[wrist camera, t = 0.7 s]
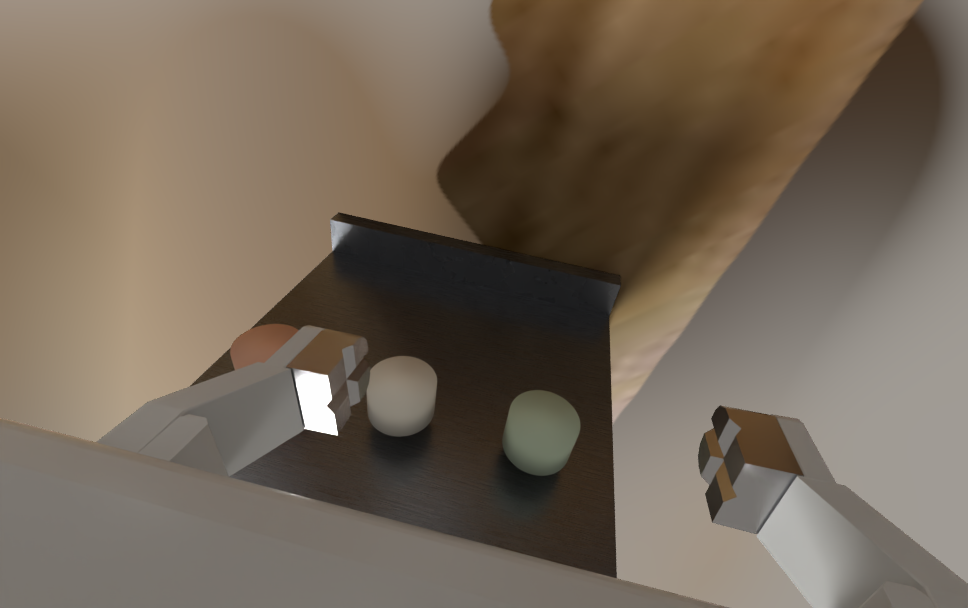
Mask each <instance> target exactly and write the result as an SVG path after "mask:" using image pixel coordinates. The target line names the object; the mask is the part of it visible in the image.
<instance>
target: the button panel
mask: <svg viewBox="0 0 968 608" xmlns="http://www.w3.org/2000/svg"><path fill="white" fill-rule="evenodd" d="M330 225H331V237H332V249H333V251H332V253H330V254H329V255H328V256H327V257H326V258H325V259H324V260H323V261H322V262H321V263H320V264H319V265H318V266H317V267H316V268H314V270H312V271H311V272H310V273H309V274H308V275H307V276H306V277H305V278H304V279H303V280H302V281H301V282H300V283H299V284H298V285H296V286H295V287H294V288H293V289H292V291H290V292H289V293H288V294H287V295H286V296H285V297H284V298H283V299H282V300H281V301H280V302H278V303H277V305H275V306H274V308H272V309H271V310H270V311H269V312H268V313H267V314H266V315H265V316H264V317H263V318H262V319H260V320H259V321H258V322H257V323H256V324H255V325H254V326H253V327H252V328H255V327H258V326H262V325H267V324H284V325H289V326H292V327H294V328H296V329H298V330H300V329H301V328H302V327H304V326H308V325H310V326H315V327H319V328H324V329H330V330H335V331H339V332H344V333H349V334H353V335H358V336H362V337H364V338H365V339H366V340H367V345H368V352H367V353H366V355H365V356H364V358H365V360H366V361H367V362H368V364H369V365H370V370H371V369H372V368H373V367H374V366H375V365H376V364H377V363H379V362H380V361H382V360H385V359H387V358H391V357H396V356H410V357H415V358H418V359H420V360H422V361H424V362H426V363H427V364H429V365H430V366H431V367H432V369H433V370H434V372H435V374H436V376H437V389H436V399H435V410H434V415H433V418H432V420H431V422H430V423H429V424H428V425H427V426H426V427H425V428H424V429H423V430H421V431H420V432H418V433H415V434H413V435H409V436H402V437H397V436H390V435H387V434H384V433H382V432H380V431H378V430H377V429H376V428H375V427H374V426H373V425H372V424H371V422H370V421H369V418H368V413H367V390H366V393H365V395H364V396H363V398H362V399H361V401H360V402H359V403H357V404H355V405H353V406H351V407H350V409H351V416H350V417H349V419H348V420H347V422H346V423H345V425H344V426H343V428H342V429H341V431H340V432H339V433H338V435H334V434H329V433H324V432H319V431H315V430H310V429H305V428H304V430H303V431H302V432H300V433H299V434H297V435H295V436H294V437H292V438H291V439H289V440H287V441H286V442H284V443H283V444H281V445H279V446H278V447H276V448H275V449H273V450H271V451H270V452H268V453H266V454H265V455H263V456H262V457H260V458H258V459H257V460H255V461H254V462H252V463H250V464H249V465H247V466H246V467H244V468H242V469H241V470H239V471H237V472H236V473H234V474H233V475H231V476H229V477H231V478H235V479H239V480H242V481H246V482H250V483H254V484H258V485H262V486H265V487H269V488H273V489H277V490H281V491H284V492H288V493H292V494H296V495H300V496H304V497H307V498H311V499H315V500H319V501H323V502H327V503H330V504H334V505H338V506H342V507H346V508H350V509H353V510H357V511H361V512H365V513H369V514H372V515H376V516H380V517H384V518H388V519H392V520H395V521H399V522H403V523H407V524H411V525H415V526H418V527H422V528H426V529H430V530H434V531H437V532H441V533H445V534H449V535H453V536H457V537H460V538H464V539H468V540H472V541H476V542H479V543H483V544H487V545H491V546H495V547H499V548H502V549H506V550H510V551H514V552H518V553H521V554H525V555H529V556H533V557H537V558H540V559H544V560H548V561H552V562H556V563H560V564H563V565H567V566H571V567H575V568H579V569H583V570H587V571H590V572H594V573H598V574H602V575H606V576H610V577H613V578H617V572H616V540H615V503H614V472H613V471H614V469H613V438H612V435H613V434H612V400H611V365H610V331H609V315H610V312H611V310H612V307H613V305H614V302H615V299H616V297H617V294H618V292H619V289H620V286H621V282H620V276H619V275H615V274H610V273H606V272H601V271H597V270H592V269H588V268H583V267H579V266H574V265H570V264H566V263H561V262H557V261H552V260H548V259H543V258H539V257H534V256H530V255H526V254H521V253H517V252H512V251H508V250H503V249H499V248H494V247H490V246H485V245H481V244H477V243H472V242H468V241H463V240H458V239H454V238H450V237H445V236H441V235H436V234H432V233H428V232H423V231H419V230H414V229H410V228H405V227H401V226H396V225H392V224H387V223H383V222H378V221H374V220H370V219H365V218H361V217H356V216H352V215H347V214H343V213H338V214H337V215H335V216H334V217H333V218H332V219H330ZM252 328H251V329H252ZM230 349H231V348H230ZM230 349H229V350H228V351H227V352H226V353H224V354H223V355H222V357H220V358H219V359H218V360H217V361H216V362H215V363H214V364H213V365H212V366H211V367H210V368H209V369H208V370H206V371H205V372H204V373H203V374H202V375H201V376H200V377H199V378H198V379H197V380H196V381H195V382H194V383H193V384H192V385H191V386H193V385H196V384H199V383H201V382H204V381H207V380H210V379H212V378H215V377H218V376H221V375H223V374H226V373H229V372H232V371H235V369H234V366H233V362H232V359H231V355H230ZM531 390H543V391H548V392H552V393H554V394H557V395H559V396H561V397H562V398H564V399H565V400H566V401H568V402H569V403H570V404H571V405H572V406H573V408H574V409H575V410H576V412H577V414H578V416H579V419H580V432H579V435H578V437H577V440H576V442H575V444H574V447H573V449H572V451H571V454H570V456H569V459H568V461H567V463H566V465H565V466H564V467H563V468H562V469H561V470H560V471H558V472H556V473H554V474H551V475H546V476H538V475H532V474H529V473H526V472H524V471H522V470H520V469H519V468H517V467H516V466H515V465H514V464H513V463H512V462H511V461H510V460H509V459H508V457H507V456H506V454H505V452H504V449H503V444H502V438H503V433H504V429H505V425H506V421H507V417H508V413H509V409H510V406H511V404H512V402H513V400H514V399H515V398H516V397H517V396H519V395H520V394H522V393H524V392H527V391H531Z"/></svg>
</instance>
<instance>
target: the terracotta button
mask: <svg viewBox="0 0 968 608" xmlns="http://www.w3.org/2000/svg"><path fill="white" fill-rule="evenodd" d="M298 331H299V330H298V329H296V328H294V327H292V326H289V325H284V324H267V325H262V326H258V327H255V328H252V329H250V330H248V331H246V332H245V333H243V334H241V335H240V336H239V337H238V338H237V339H236V340H235V341H234V342H233V344H232V346H231V349H230V355H231V359H232V362H233V366H234V369H235V370H237V369H240V368H243V367H246V366H248V365H251V364H254V363H257V362H261V363H265V362H266V361H267V360H268V359H269V358H270V357H271V356H272V355H273V354H274V353H275V352H276V351H278V350H279V349H280V348H281V347H282V346H283V345H284V344H285V343H286V342H287V341H288V340H289V339H290V338H291V337H293V336H294V335H295V334H296V333H297V332H298Z"/></svg>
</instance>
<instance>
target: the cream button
mask: <svg viewBox="0 0 968 608" xmlns="http://www.w3.org/2000/svg"><path fill="white" fill-rule="evenodd" d="M436 389H437V376H436V374H435V372H434V370H433V369H432V367H431V366H430V365H429V364H427V363H426V362H424V361H422V360H420V359H418V358H415V357H410V356H396V357H391V358H387V359H385V360H382V361H380V362H379V363H377V364H376V365H375V366H374V367H373V368H372V369H371V370H370V381H369V385H368V388H367V413H368V418H369V421H370V422H371V424H372V425H373V426H374V427H375V428H376V429H377V430H378V431H380V432H382V433H384V434H387V435H390V436H397V437H402V436H409V435H413V434H415V433H418V432H420V431H421V430H423V429H424V428H425V427H426V426H427V425H428V424H429V423H430V422H431V420H432V418H433V415H434V410H435V399H436Z"/></svg>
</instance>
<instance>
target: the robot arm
mask: <svg viewBox="0 0 968 608" xmlns="http://www.w3.org/2000/svg"><path fill="white" fill-rule="evenodd" d="M367 352H368V345H367V340H366V339H365V338H364V337H362V336H358V335H353V334H349V333H344V332H339V331H335V330H330V329H324V328H319V327H315V326H310V325H308V326H304V327H302V328H301V329H300V330H299V331H298V332H297V333H296V334H295V335H294V336H293V337H291V338H290V339H289V340H288V341H287V342H286V343H285V344H284V345H283V346H282V347H281V348H280V349H279V350H278V351H276V352H275V353H274V354H273V355H272V356H271V357H270V358H269V359H268V360H267V361H266V362H265V363H261V362H257V363H254V364H251V365H248V366H246V367H243V368H240V369H237V370H235V371H232V372H229V373H226V374H223V375H221V376H218V377H215V378H212V379H210V380H207V381H204V382H201V383H199V384H196V385H193V386H190V387H187V388H185V389H182V390H179V391H176V392H174V393H171V394H168V395H166V396H163V397H160V398H157V399H154V400H152V401H149V402H147V403H145V404H144V405H143V406H142V407H141V408H139V409H138V410H136V411H135V412H134V413H133V414H131V415H130V416H129V417H128V418H126V419H125V420H124V421H123V422H121V423H120V424H119V425H117V426H116V427H115V428H114V429H112V430H111V431H110V432H108V433H107V434H106V435H104V436H103V437H102V438H101V439H99V440H98V441H97V442H93V441H89V440H85V439H81V438H77V437H74V436H70V435H66V434H62V433H59V432H55V431H51V430H47V429H43V428H39V427H35V426H32V425H28V424H24V423H20V422H16V421H12V420H9V419H5V418H1V417H0V608H728V607H724V606H721V605H717V604H713V603H709V602H705V601H702V600H698V599H694V598H690V597H686V596H682V595H678V594H675V593H671V592H667V591H663V590H659V589H656V588H651V587H648V586H644V585H640V584H636V583H633V582H629V581H625V580H621V579H617V578H613V577H610V576H606V575H602V574H598V573H594V572H590V571H587V570H583V569H579V568H575V567H571V566H567V565H563V564H560V563H556V562H552V561H548V560H544V559H540V558H537V557H533V556H529V555H525V554H521V553H518V552H514V551H510V550H506V549H502V548H499V547H495V546H491V545H487V544H483V543H479V542H476V541H472V540H468V539H464V538H460V537H457V536H453V535H449V534H445V533H441V532H437V531H434V530H430V529H426V528H422V527H418V526H415V525H411V524H407V523H403V522H399V521H395V520H392V519H388V518H384V517H380V516H376V515H372V514H369V513H365V512H361V511H357V510H353V509H350V508H346V507H342V506H338V505H334V504H330V503H327V502H323V501H319V500H315V499H311V498H307V497H304V496H300V495H296V494H292V493H288V492H284V491H281V490H277V489H273V488H269V487H265V486H262V485H258V484H254V483H250V482H246V481H242V480H239V479H235V478H231V477H229V476H231V475H233V474H234V473H236V472H237V471H239V470H241V469H242V468H244V467H246V466H247V465H249V464H250V463H252V462H254V461H255V460H257V459H258V458H260V457H262V456H263V455H265V454H266V453H268V452H270V451H271V450H273V449H275V448H276V447H278V446H279V445H281V444H283V443H284V442H286V441H287V440H289V439H291V438H292V437H294V436H295V435H297V434H299V433H300V432H302V431H303V430H304V428H305V429H310V430H315V431H319V432H324V433H329V434H334V435H338V433H339V432H340V431H341V429H342V428H343V426H344V425H345V423H346V422H347V420H348V419H349V417H350V416H351V409H350V407H351V406H353V405H355V404H357V403H359V402H360V401H361V399H362V398H363V396H364V395H365V393H366V390H367V388H368V385H369V381H370V365H369V364H368V362H367V361H366V360H365V358H364V356H365V355H366V353H367ZM711 419H712V422H713V426H714V428H713V429H711V430H710V431H707V432H706V433H704V436H703V438H702V441H701V443H700V447H699V454H698V460H699V469H700V474H701V477H702V478H703V479H704V480H705V481H706V482H707V483H708V484H709V485H710V486H709V488H708V490H707V492H706V494H705V495H706V499H707V503H708V507H709V511H710V515H711V519H712V523H716V524H720V525H723V526H727V527H731V528H735V529H739V530H743V531H746V532H750V533H754V534H758V535H757V537H758V539H759V540H760V541H761V542H762V544H763V545H764V546H765V548H766V549H767V550H768V551H769V553H770V554H771V555H772V556H773V558H774V559H775V560H776V562H777V563H778V564H779V565H780V567H781V568H782V569H783V570H784V572H785V573H786V574H787V576H788V577H789V578H790V580H791V581H792V582H793V583H794V585H795V586H796V587H797V588H798V590H799V591H800V592H801V593H802V595H803V596H804V597H805V599H806V600H807V601H808V602H809V604H810V605H811V606H812V608H968V583H966V582H965V581H964V580H963V579H961V578H960V577H959V576H958V575H956V574H955V573H954V572H952V571H951V570H950V569H949V568H948V567H946V566H945V565H944V564H943V563H941V562H940V561H939V560H938V559H936V558H935V557H934V556H933V555H931V554H930V553H929V552H928V551H926V550H925V549H924V548H923V547H921V546H920V545H919V544H918V543H916V542H915V541H914V540H913V539H911V538H910V537H909V536H908V535H906V534H905V533H904V532H903V531H901V530H900V529H899V528H898V527H896V526H895V525H894V524H893V523H891V522H890V521H889V520H888V519H886V518H885V517H884V516H883V515H881V514H880V513H879V512H878V511H876V510H875V509H874V508H873V507H871V506H870V505H869V504H868V503H866V502H865V501H864V500H862V499H861V498H860V497H859V496H858V495H856V494H855V493H854V492H852V491H851V490H850V489H849V488H848V487H846V486H844V485H840V484H837V483H836V482H835V480H834V478H833V476H832V474H831V473H830V471H829V469H828V467H827V465H826V464H825V462H824V460H823V458H822V456H821V455H820V453H819V451H818V449H817V447H816V446H815V444H814V442H813V440H812V438H811V436H810V435H809V433H808V431H807V429H806V428H805V426H804V424H803V423H802V422H801V421H800V420H799V419H796V418H790V417H783V416H778V415H768V414H763V413H758V412H753V411H748V410H742V409H737V408H731V407H726V406H721V405H720V406H719V407H718V408H717V409H716V410H715V412H714V414H713V416H712V418H711Z"/></svg>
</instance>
